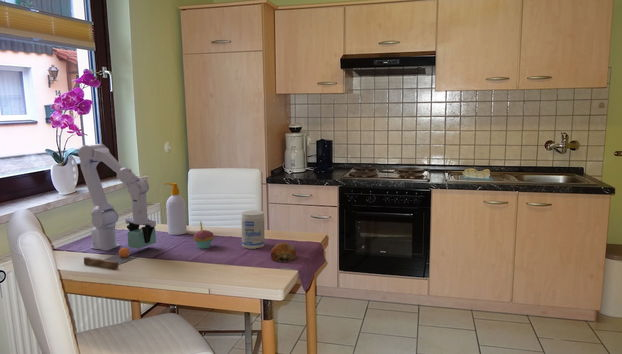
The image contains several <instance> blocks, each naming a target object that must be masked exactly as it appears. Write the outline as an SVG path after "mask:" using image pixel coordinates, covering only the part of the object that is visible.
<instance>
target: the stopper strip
mask: <svg viewBox="0 0 622 354" xmlns="http://www.w3.org/2000/svg"><path fill="white" fill-rule="evenodd" d="M83 264H84V265H88V266H94V267H99V268H105V269H110V268H111V270H118V269H119V265H118V262H115V261H109V260H103V259H102V258H96V257H90V256H85V257H83Z"/></svg>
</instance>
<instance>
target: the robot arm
mask: <svg viewBox="0 0 622 354" xmlns="http://www.w3.org/2000/svg"><path fill="white" fill-rule="evenodd" d="M77 154H78V158H79V161H80V163H79V164H80V170H81V172H82V175H83V178H84V182H85V183H86V187H87V190H88V193H89V195H90V196H89V197H90V198H91V202H92V205H93V208H92V210H91V212H90V214H91V223H92V225H93V226H94V227H93V228H92V230H91V246H90V249H96V250H100V251H101V250H102V251H109V250H113V249H115V248H119V247H121V246H122V244H120V243H117V233H116V226H117V223H118V221H119V214H118V212H117V210H115V209H116V208H115V207H114V205H113V204H111V203H109V202H108V199H107V197H106V194H105V191H104V187H103V185H102V182H101V179H100V176H99V174H98V170H97V166H98V165H99V163H100V162H103V163H104V164H105V165H106V166H107V167H109V168H110V169H111V170H112V171H113V172H115V173H116V178H117V179H118V180H119V181H120V182H121V183H122V184H123V185H124V186H125V187H127V192H128V193H129V195H130V199H131V207H132V208H131V209H132V218H131V217H128V218H125V219H124V220H125V225H126V228H127V229H128V232H130V231H133V230H137V229H140V228H141V229H142V231H143V234H144V241H145V243H149V242H150V238H151V234H152V232H153V229H154V228H155V227H156V226H157V221H156V220H152V219H150V218H148V201H147V193H148V191H149V189H150V186H149V183H148V182H147V180H146V179H141V178H140V177H139V176H138V175H136V174H135V173H134V172H133V171H132V169H131V168H128V167H123V166H122V164H121V163H120V162H119V161H118V160H117V159H116V158H115V156H114V155H112V153H111V152H110V149H109V148H108V147H107V146H106V145H105V144H103V143H99V142H98V143H95V144H94V143H93V144H83V145H81V147H80V148H79V150H78V152H77ZM127 224H128V225H127ZM141 226H142V227H141ZM155 229H156V228H155Z"/></svg>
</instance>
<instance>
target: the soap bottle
mask: <svg viewBox="0 0 622 354" xmlns="http://www.w3.org/2000/svg"><path fill="white" fill-rule="evenodd" d="M164 185H165V186H166V185H169V186H172V187H171V190H170V191H171V192H170V193H171V196H170V197H168V199H167V200H166V205H165V207H166V222H167V224H166V225H167V227H166V228H167V233H168V235H170V236H182V235H184V234H187V232H188V231H187V229H188V227H187V210H186V201H185V199H184V198H183V196H182V195H180V189H179V187H178V183H177V182H173V183H172V182H164Z"/></svg>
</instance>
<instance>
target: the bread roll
mask: <svg viewBox="0 0 622 354" xmlns="http://www.w3.org/2000/svg"><path fill="white" fill-rule="evenodd" d="M270 257H271V260H272V261H273V262H279V263H286V262H290V261H293V260H295V259H296V257H297V251H296V248H295V247H294V246H293V245H292V244H290V243H288V242H279V243H277V244H275V245H274V247H272V248H271V251H270Z"/></svg>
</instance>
